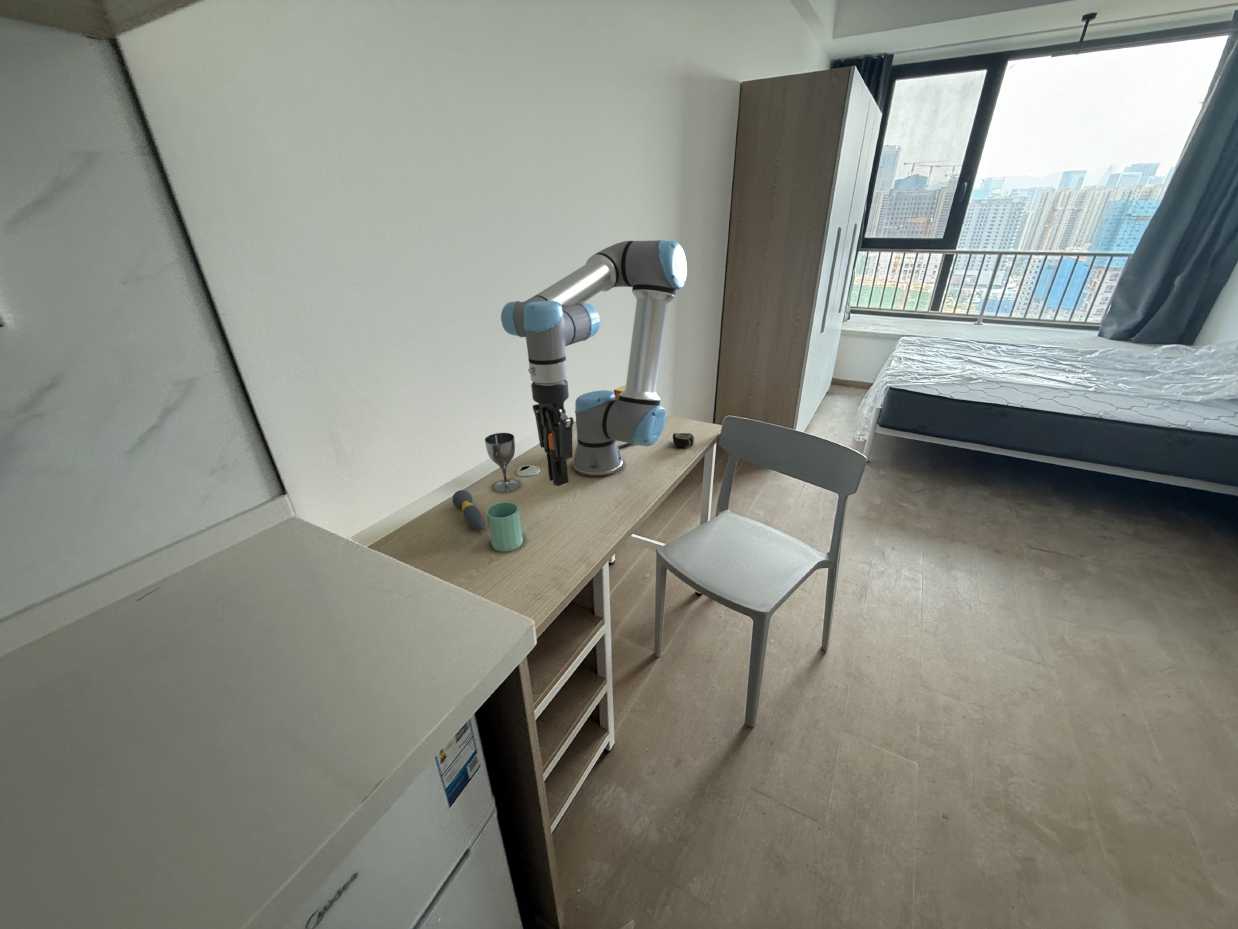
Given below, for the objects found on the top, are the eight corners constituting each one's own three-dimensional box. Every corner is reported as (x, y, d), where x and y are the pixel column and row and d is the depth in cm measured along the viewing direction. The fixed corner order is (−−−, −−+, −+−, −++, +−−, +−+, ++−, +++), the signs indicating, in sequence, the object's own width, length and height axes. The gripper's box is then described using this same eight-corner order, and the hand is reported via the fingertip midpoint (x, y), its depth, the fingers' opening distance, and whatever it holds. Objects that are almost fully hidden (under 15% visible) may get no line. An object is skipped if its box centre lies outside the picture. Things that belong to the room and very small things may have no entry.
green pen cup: (514, 530, 119) (510, 498, 115) (528, 543, 114) (524, 511, 110) (486, 541, 115) (481, 508, 111) (499, 555, 110) (494, 522, 106)
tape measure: (692, 441, 165) (693, 431, 163) (694, 450, 159) (694, 439, 157) (672, 441, 165) (672, 431, 164) (673, 449, 159) (673, 439, 158)
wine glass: (525, 482, 141) (519, 435, 135) (509, 495, 135) (502, 445, 128) (503, 477, 144) (496, 431, 138) (486, 489, 138) (478, 441, 131)
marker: (560, 479, 112) (556, 431, 107) (567, 483, 110) (562, 434, 105) (550, 482, 111) (545, 434, 105) (556, 487, 109) (552, 438, 103)
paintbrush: (497, 528, 120) (494, 511, 118) (478, 535, 117) (474, 518, 115) (466, 497, 134) (463, 482, 132) (448, 503, 131) (445, 487, 129)
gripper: (515, 376, 103) (527, 474, 114) (552, 393, 92) (562, 500, 102) (546, 369, 107) (555, 464, 118) (585, 385, 96) (591, 488, 106)
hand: (558, 481), depth 110 cm, fingers closed on marker, 2 cm apart
